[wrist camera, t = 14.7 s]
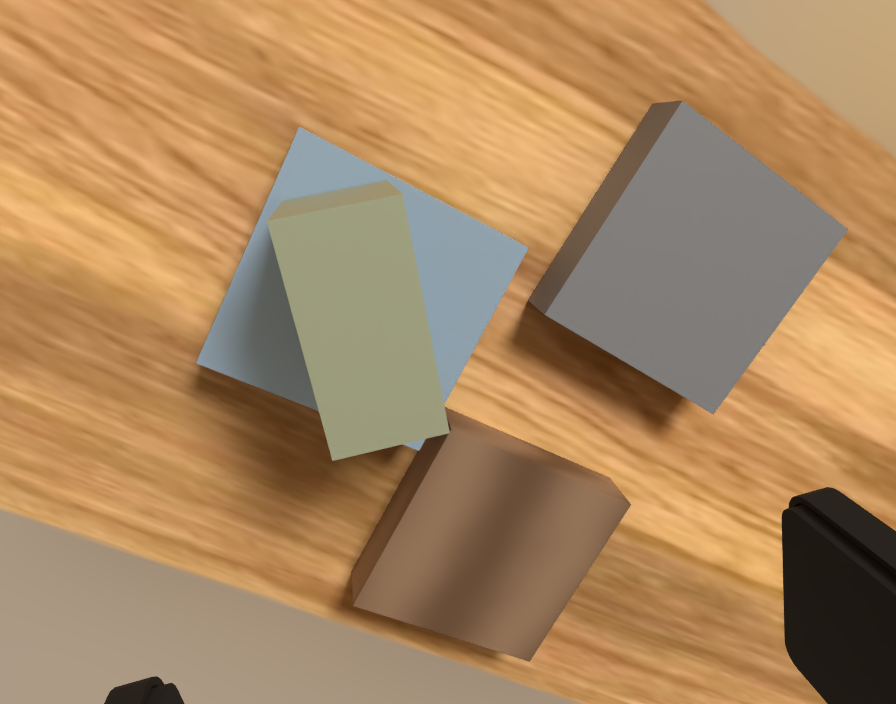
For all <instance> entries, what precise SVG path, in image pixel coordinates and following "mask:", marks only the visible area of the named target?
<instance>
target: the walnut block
mask: <svg viewBox="0 0 896 704" xmlns="http://www.w3.org/2000/svg"><path fill="white" fill-rule="evenodd" d="M445 411H446V416H447V421H448V426H449V432H450V433H448V434H444V435H439V436H435V437H431V438H427V439H425V441H424V443H423V445H422V447H421V449H420V450H419V451H418V452H417V453H416V455H415V457H414V459H413V461H412V463H411V464H410V466H409V468H408V470H407V472H406V473H405V475H404V477H403V479H402V481H401V483H400V484H399V486H398V488H397V490H396V492H395V494H394V495H393V497H392V499H391V501H390V503H389V504H388V506H387V508H386V510H385V512H384V514H383V515H382V517H381V519H380V521H379V523H378V525H377V526H376V528H375V530H374V532H373V534H372V535H371V537H370V539H369V541H368V543H367V545H366V546H365V548H364V550H363V552H362V554H361V556H360V557H359V559H358V561H357V563H356V565H355V566H354V568H353V570H352V596H353V606H355V607H358V608H361V609H364V610H367V611H371V612H374V613H377V614H380V615H383V616H386V617H390V618H393V619H396V620H399V621H402V622H406V623H409V624H412V625H415V626H418V627H421V628H425V629H428V630H431V631H434V632H437V633H440V634H444V635H447V636H450V637H453V638H456V639H460V640H463V641H466V642H469V643H472V644H475V645H479V646H482V647H485V648H488V649H491V650H494V651H498V652H501V653H504V654H507V655H510V656H513V657H517V658H520V659H523V660H526V661H529V662H530V660H531V659H532V657H533V656H534V654H535V652H536V651H537V649H538V648H539V646H540V645H541V643H542V642H543V640H544V638H545V637H546V635H547V634H548V632H549V631H550V629H551V628H552V626H553V625H554V623H555V621H556V620H557V618H558V617H559V615H560V614H561V612H562V611H563V609H564V608H565V606H566V604H567V603H568V601H569V600H570V598H571V597H572V595H573V594H574V592H575V591H576V589H577V587H578V586H579V584H580V583H581V581H582V580H583V578H584V577H585V575H586V574H587V572H588V570H589V569H590V567H591V566H592V564H593V563H594V561H595V560H596V558H597V557H598V555H599V553H600V552H601V550H602V549H603V547H604V546H605V544H606V543H607V541H608V539H609V538H610V536H611V535H612V533H613V532H614V530H615V529H616V527H617V526H618V524H619V522H620V521H621V519H622V518H623V516H624V515H625V513H626V512H627V510H628V509H629V507H630V505H631V504H630V503H629V501H628V500H627V499H626V498H625V496H624V495H623V494H622V493H621V491H620V490H619V489H618V488H617V486H616V485H615V484H614V483H613V481H612V480H611V479H610V478H609V477H607V476H604V475H602V474H600V473H597V472H595V471H593V470H590V469H588V468H586V467H583V466H581V465H579V464H576V463H574V462H572V461H569V460H567V459H565V458H562V457H560V456H558V455H555V454H553V453H551V452H548V451H546V450H544V449H541V448H539V447H537V446H535V445H532V444H530V443H528V442H525V441H523V440H521V439H518V438H516V437H514V436H511V435H509V434H507V433H504V432H502V431H500V430H497V429H495V428H493V427H490V426H488V425H486V424H483V423H481V422H479V421H476V420H474V419H472V418H469V417H467V416H465V415H462V414H460V413H458V412H455V411H453V410H451V409H448V408H446V407H445Z"/></svg>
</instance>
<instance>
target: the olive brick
mask: <svg viewBox="0 0 896 704" xmlns="http://www.w3.org/2000/svg"><path fill="white" fill-rule="evenodd" d="M267 224H268V227H269V231H270V235H271V238H272V242H273V246H274V249H275V253H276V257H277V260H278V264H279V268H280V271H281V275H282V279H283V282H284V286H285V289H286V293H287V297H288V300H289V304H290V308H291V311H292V315H293V319H294V322H295V326H296V330H297V333H298V337H299V341H300V344H301V348H302V351H303V355H304V359H305V362H306V366H307V370H308V373H309V377H310V381H311V384H312V388H313V392H314V395H315V399H316V403H317V406H318V410H319V414H320V417H321V421H322V424H323V428H324V432H325V435H326V439H327V443H328V446H329V450H330V454H331V457H332V461H335V460H339V459H343V458H347V457H351V456H356V455H360V454H364V453H368V452H372V451H376V450H381V449H385V448H389V447H393V446H397V445H402V444H406V443H410V442H414V441H418V440H423V439H427V438H431V437H435V436H439V435H444V434H448V433H450V432H449V426H448V421H447V416H446V411H445V406H444V401H443V396H442V391H441V386H440V381H439V376H438V371H437V366H436V361H435V356H434V351H433V345H432V340H431V335H430V330H429V325H428V320H427V315H426V310H425V305H424V300H423V295H422V290H421V285H420V280H419V275H418V270H417V264H416V259H415V254H414V249H413V244H412V239H411V234H410V229H409V224H408V219H407V214H406V209H405V204H404V199H403V194H402V193H401V192H400V191H399V190H398V189H397V188H396V187H394V186H393V185H392V184H391V183H390V182H389V181H388V180H384V181H379V182H374V183H369V184H364V185H359V186H354V187H349V188H344V189H339V190H334V191H329V192H323V193H318V194H313V195H308V196H303V197H298V198H293V199H288V200H283V201H282V202H281V203H280V205H279V206H278V207H277V209H276V210H275V211H274V212H273V214H272V215H271V216H270V218H269V219H268V220H267Z"/></svg>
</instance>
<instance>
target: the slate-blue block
mask: <svg viewBox="0 0 896 704" xmlns="http://www.w3.org/2000/svg"><path fill="white" fill-rule="evenodd" d="M384 180H388V181H389V182H390V183H391V184H392V185H393V186H394V187H396V188H397V189H398V190H399V191H400V192H401V193H402V194H403V199H404V204H405V209H406V214H407V219H408V224H409V229H410V234H411V239H412V244H413V249H414V254H415V259H416V264H417V270H418V275H419V280H420V285H421V290H422V295H423V300H424V305H425V310H426V315H427V320H428V325H429V330H430V335H431V340H432V345H433V351H434V356H435V361H436V366H437V371H438V376H439V381H440V386H441V391H442V396H443V401H444V404H445V402H446V400H447V398H448V397H449V395H450V393H451V391H452V389H453V387H454V385H455V384H456V382H457V380H458V378H459V376H460V374H461V372H462V371H463V369H464V367H465V365H466V363H467V361H468V359H469V358H470V356H471V354H472V352H473V350H474V348H475V346H476V345H477V343H478V341H479V339H480V337H481V335H482V333H483V332H484V330H485V328H486V326H487V324H488V322H489V320H490V319H491V317H492V315H493V313H494V311H495V309H496V307H497V305H498V304H499V302H500V300H501V298H502V296H503V294H504V292H505V291H506V289H507V287H508V285H509V283H510V281H511V279H512V278H513V276H514V274H515V272H516V270H517V268H518V266H519V265H520V263H521V261H522V259H523V257H524V255H525V253H526V252H527V250H528V247H527V246H525V245H523V244H521V243H519V242H518V241H516V240H514V239H512V238H510V237H508V236H507V235H505V234H503V233H501V232H499V231H497V230H495V229H493V228H491V227H489V226H488V225H486V224H484V223H482V222H480V221H478V220H476V219H474V218H472V217H470V216H468V215H467V214H465V213H463V212H461V211H459V210H457V209H455V208H453V207H451V206H449V205H448V204H446V203H444V202H442V201H440V200H438V199H436V198H434V197H432V196H430V195H429V194H427V193H425V192H423V191H421V190H419V189H417V188H415V187H413V186H411V185H410V184H408V183H406V182H404V181H402V180H400V179H398V178H396V177H394V176H392V175H391V174H389V173H387V172H385V171H383V170H381V169H379V168H377V167H375V166H373V165H371V164H370V163H368V162H366V161H364V160H362V159H360V158H358V157H356V156H354V155H352V154H351V153H349V152H347V151H345V150H343V149H341V148H339V147H337V146H335V145H333V144H332V143H330V142H328V141H326V140H324V139H322V138H320V137H318V136H316V135H314V134H313V133H311V132H309V131H307V130H305V129H303V128H300V127H299V129H298V131H297V133H296V135H295V138H294V140H293V142H292V145H291V147H290V149H289V151H288V154H287V156H286V158H285V161H284V163H283V165H282V168H281V170H280V172H279V174H278V177H277V179H276V181H275V184H274V186H273V188H272V190H271V193H270V195H269V197H268V200H267V202H266V204H265V206H264V209H263V211H262V213H261V216H260V218H259V220H258V222H257V225H256V227H255V229H254V232H253V234H252V236H251V238H250V241H249V243H248V245H247V248H246V250H245V252H244V254H243V257H242V259H241V261H240V264H239V266H238V268H237V270H236V273H235V275H234V277H233V280H232V282H231V284H230V287H229V289H228V291H227V293H226V296H225V298H224V300H223V303H222V305H221V307H220V309H219V312H218V314H217V316H216V319H215V321H214V323H213V325H212V328H211V330H210V332H209V335H208V337H207V339H206V341H205V344H204V346H203V348H202V351H201V353H200V355H199V357H198V360H197V362H196V363H197V364H199V365H202V366H204V367H207V368H209V369H212V370H214V371H217V372H219V373H222V374H225V375H227V376H230V377H232V378H235V379H237V380H240V381H242V382H245V383H247V384H250V385H253V386H255V387H258V388H260V389H263V390H265V391H268V392H270V393H273V394H275V395H278V396H281V397H283V398H286V399H288V400H291V401H293V402H296V403H298V404H301V405H303V406H306V407H308V408H311V409H314V410H316V411H319V410H318V406H317V403H316V399H315V395H314V392H313V388H312V384H311V381H310V377H309V373H308V370H307V366H306V362H305V359H304V355H303V351H302V348H301V344H300V341H299V337H298V333H297V330H296V326H295V322H294V319H293V315H292V311H291V308H290V304H289V300H288V297H287V293H286V289H285V286H284V282H283V279H282V275H281V271H280V268H279V264H278V260H277V257H276V253H275V249H274V246H273V242H272V238H271V235H270V231H269V227H268V224H267V220H268V219H269V218H270V216H271V215H272V214H273V212H274V211H275V210H276V209H277V207H278V206H279V205H280V203H281V202H282V201H283V200H288V199H293V198H298V197H303V196H308V195H313V194H318V193H323V192H329V191H334V190H339V189H344V188H349V187H354V186H359V185H364V184H369V183H374V182H379V181H384ZM424 441H425V439H423V440H418V441H414V442H410V443H406V444H403V445H405V446H408V447H410V448H413V449H415V450H418V451H419V450H420V449H421V447H422V445H423V443H424Z"/></svg>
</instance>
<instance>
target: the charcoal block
mask: <svg viewBox="0 0 896 704" xmlns="http://www.w3.org/2000/svg"><path fill="white" fill-rule="evenodd" d="M847 230H848V229H847V228H846V227H844V226H843V225H842V224H841V223H839V222H838V221H837V220H835V219H834V218H833V217H832V216H830V215H829V214H828V213H826V212H825V211H824V210H823V209H821V208H820V207H819V206H817V205H816V204H815V203H814V202H812V201H811V200H810V199H808V198H807V197H806V196H805V195H803V194H802V193H801V192H799V191H798V190H797V189H796V188H794V187H793V186H792V185H790V184H789V183H788V182H787V181H785V180H784V179H783V178H781V177H780V176H779V175H778V174H776V173H775V172H774V171H772V170H771V169H770V168H769V167H767V166H766V165H765V164H763V163H762V162H761V161H760V160H758V159H757V158H756V157H754V156H753V155H752V154H751V153H749V152H748V151H747V150H745V149H744V148H743V147H742V146H740V145H739V144H738V143H736V142H735V141H734V140H733V139H731V138H730V137H729V136H727V135H726V134H725V133H724V132H722V131H721V130H720V129H718V128H717V127H716V126H715V125H713V124H712V123H711V122H709V121H708V120H707V119H706V118H704V117H703V116H702V115H700V114H699V113H698V112H697V111H695V110H694V109H693V108H691V107H690V106H689V105H688V104H686V103H685V102H684V101H674V102H664V103H654V104H652V106H651V107H650V109H649V110H648V112H647V113H646V115H645V117H644V118H643V120H642V121H641V123H640V124H639V126H638V128H637V129H636V131H635V132H634V134H633V135H632V137H631V139H630V140H629V142H628V143H627V145H626V146H625V148H624V150H623V151H622V153H621V154H620V156H619V158H618V159H617V161H616V162H615V164H614V165H613V167H612V169H611V170H610V172H609V173H608V175H607V176H606V178H605V180H604V181H603V183H602V184H601V186H600V187H599V189H598V191H597V192H596V194H595V195H594V197H593V199H592V200H591V202H590V203H589V205H588V206H587V208H586V210H585V211H584V213H583V214H582V216H581V217H580V219H579V221H578V222H577V224H576V225H575V227H574V228H573V230H572V232H571V233H570V235H569V236H568V238H567V239H566V241H565V243H564V244H563V246H562V247H561V249H560V251H559V252H558V254H557V255H556V257H555V258H554V260H553V262H552V263H551V265H550V266H549V268H548V269H547V271H546V273H545V274H544V276H543V277H542V279H541V280H540V282H539V284H538V285H537V287H536V288H535V290H534V291H533V293H532V295H531V296H530V298H529V299H528V301H529V302H530V303H531V304H533V305H534V306H535V307H536V308H537V309H538V310H540V311H541V312H542V313H543V314H544V315H546V316H547V317H549V318H551V319H552V320H554V321H556V322H558V323H559V324H561V325H563V326H564V327H566V328H568V329H569V330H571V331H573V332H575V333H576V334H578V335H580V336H581V337H583V338H585V339H586V340H588V341H590V342H592V343H593V344H595V345H597V346H598V347H600V348H602V349H603V350H605V351H607V352H608V353H610V354H612V355H614V356H615V357H617V358H619V359H620V360H622V361H624V362H625V363H627V364H629V365H631V366H632V367H634V368H636V369H637V370H639V371H641V372H642V373H644V374H646V375H648V376H649V377H651V378H653V379H654V380H656V381H658V382H659V383H661V384H663V385H664V386H666V387H668V388H670V389H671V390H673V391H675V392H676V393H678V394H680V395H681V396H683V397H685V398H687V399H688V400H690V401H692V402H693V403H695V404H697V405H698V406H700V407H702V408H704V409H705V410H707V411H709V412H710V413H712V414H714V413H715V411H716V410H717V409H718V407H719V406H720V405H721V403H722V402H723V401H724V399H725V398H726V396H727V395H728V394H729V392H730V391H731V390H732V388H733V387H734V385H735V384H736V383H737V381H738V380H739V379H740V377H741V376H742V374H743V373H744V372H745V370H746V369H747V368H748V366H749V365H750V363H751V362H752V361H753V359H754V358H755V357H756V355H757V354H758V353H759V351H760V350H761V348H762V347H763V346H764V344H765V343H766V342H767V340H768V339H769V337H770V336H771V335H772V333H773V332H774V331H775V329H776V328H777V326H778V325H779V324H780V322H781V321H782V320H783V318H784V317H785V315H786V314H787V313H788V311H789V310H790V309H791V307H792V306H793V305H794V303H795V302H796V300H797V299H798V298H799V296H800V295H801V294H802V292H803V291H804V289H805V288H806V287H807V285H808V284H809V283H810V281H811V280H812V278H813V277H814V276H815V274H816V273H817V272H818V270H819V269H820V267H821V266H822V265H823V263H824V262H825V261H826V259H827V258H828V257H829V255H830V254H831V252H832V251H833V250H834V248H835V247H836V246H837V244H838V243H839V241H840V240H841V239H842V237H843V236H844V235H845V233H846V232H847Z"/></svg>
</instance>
